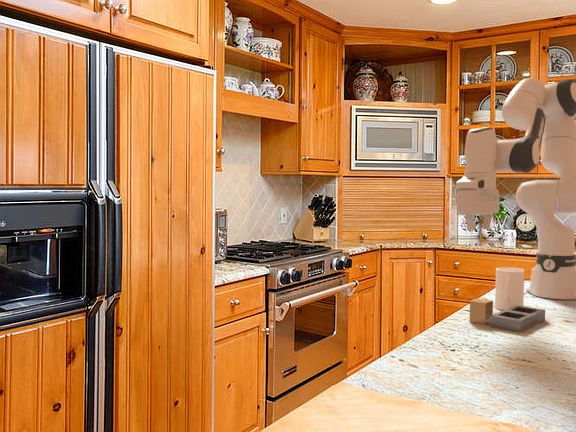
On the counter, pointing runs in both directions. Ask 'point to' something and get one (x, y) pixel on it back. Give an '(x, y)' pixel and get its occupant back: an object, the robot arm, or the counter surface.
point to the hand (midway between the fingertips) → (478, 229)
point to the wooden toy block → (481, 311)
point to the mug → (509, 287)
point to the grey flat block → (517, 318)
